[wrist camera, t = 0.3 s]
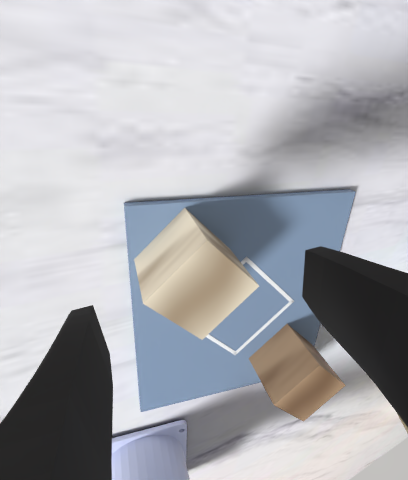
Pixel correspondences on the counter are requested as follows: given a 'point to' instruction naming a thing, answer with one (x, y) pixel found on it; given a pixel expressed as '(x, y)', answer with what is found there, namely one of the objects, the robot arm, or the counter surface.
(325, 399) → the walnut block
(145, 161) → the counter surface
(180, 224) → the ash block
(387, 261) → the counter surface
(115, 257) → the counter surface
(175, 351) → the blueprint board
